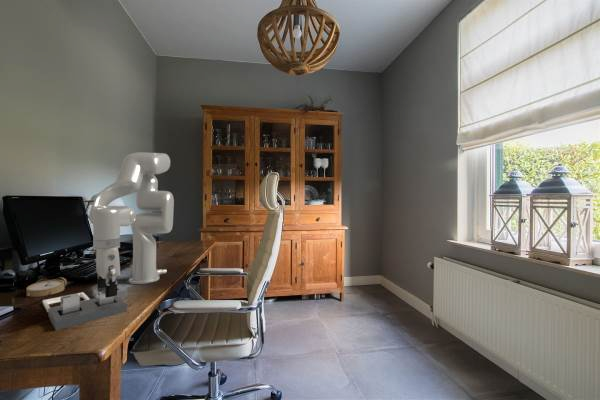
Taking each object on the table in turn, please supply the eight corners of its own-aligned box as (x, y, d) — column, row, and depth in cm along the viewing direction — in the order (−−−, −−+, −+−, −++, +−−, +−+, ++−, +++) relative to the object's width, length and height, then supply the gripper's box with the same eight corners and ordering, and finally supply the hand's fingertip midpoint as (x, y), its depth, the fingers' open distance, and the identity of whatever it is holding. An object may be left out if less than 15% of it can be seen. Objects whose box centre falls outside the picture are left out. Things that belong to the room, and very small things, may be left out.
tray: (83, 295, 106) (83, 292, 106) (90, 303, 99) (90, 299, 99) (42, 304, 98) (42, 300, 98) (47, 313, 90) (47, 309, 90)
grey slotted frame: (113, 302, 101) (114, 294, 101) (126, 312, 92) (126, 304, 92) (48, 317, 87) (48, 308, 87) (55, 332, 78) (55, 321, 78)
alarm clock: (19, 292, 102) (38, 275, 115) (20, 304, 102) (39, 285, 116) (57, 288, 106) (71, 272, 120) (58, 300, 107) (71, 282, 120)
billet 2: (110, 306, 96) (110, 286, 96) (113, 309, 93) (113, 288, 93) (95, 309, 93) (96, 289, 93) (99, 313, 90) (99, 291, 90)
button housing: (120, 291, 111) (120, 284, 111) (127, 297, 106) (127, 289, 106) (93, 297, 105) (93, 290, 105) (99, 304, 99) (99, 295, 99)
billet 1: (76, 314, 89) (76, 293, 89) (79, 318, 86) (79, 296, 86) (59, 318, 86) (60, 296, 85) (62, 322, 83) (62, 299, 83)
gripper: (127, 245, 90) (127, 296, 91) (112, 239, 102) (112, 283, 102) (100, 249, 85) (100, 303, 85) (87, 241, 96) (87, 289, 97)
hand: (107, 292), depth 94 cm, fingers open, 9 cm apart
